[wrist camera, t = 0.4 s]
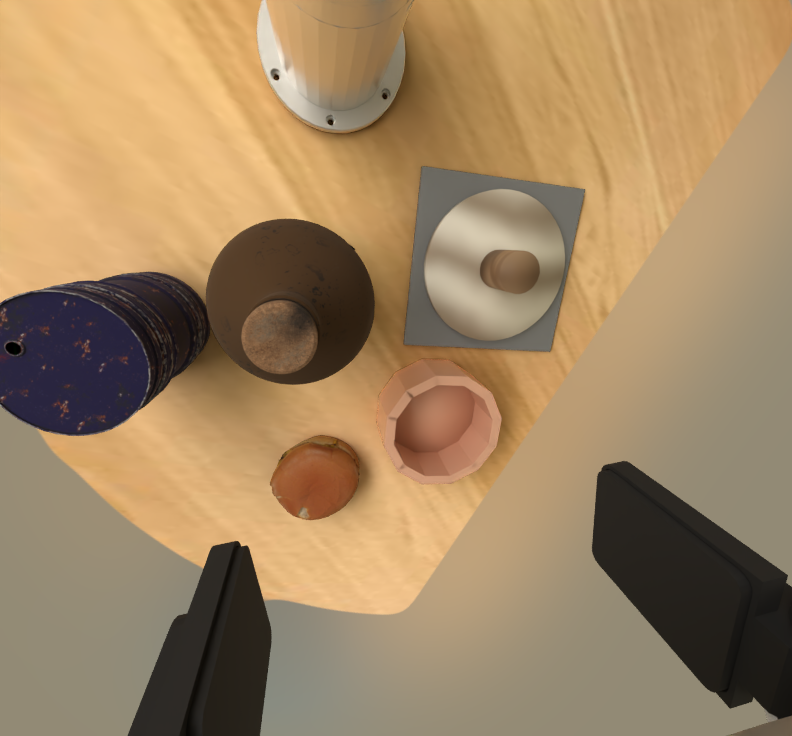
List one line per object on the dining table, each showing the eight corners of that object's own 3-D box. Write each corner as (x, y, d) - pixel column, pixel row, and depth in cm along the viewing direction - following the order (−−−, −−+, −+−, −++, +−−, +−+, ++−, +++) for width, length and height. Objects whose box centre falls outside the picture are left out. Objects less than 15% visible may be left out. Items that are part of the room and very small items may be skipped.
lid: (432, 181, 39) (452, 170, 33) (572, 200, 42) (612, 193, 36) (416, 334, 43) (430, 349, 38) (543, 341, 46) (574, 355, 41)
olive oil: (350, 336, 43) (387, 453, 19) (248, 328, 40) (148, 448, 17) (360, 234, 40) (417, 225, 16) (250, 219, 37) (131, 183, 14)
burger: (361, 434, 47) (365, 455, 42) (352, 501, 49) (355, 526, 45) (275, 430, 45) (270, 451, 40) (271, 500, 47) (266, 526, 43)
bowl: (382, 357, 44) (391, 374, 38) (486, 361, 46) (509, 377, 41) (373, 456, 48) (380, 485, 42) (470, 455, 50) (489, 482, 45)
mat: (421, 167, 39) (422, 166, 38) (582, 189, 42) (585, 189, 42) (403, 343, 44) (404, 344, 43) (547, 350, 48) (550, 351, 47)
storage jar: (227, 299, 39) (175, 332, 25) (191, 383, 41) (124, 457, 27) (120, 251, 36) (-6, 257, 22) (86, 344, 38) (-49, 403, 24)
